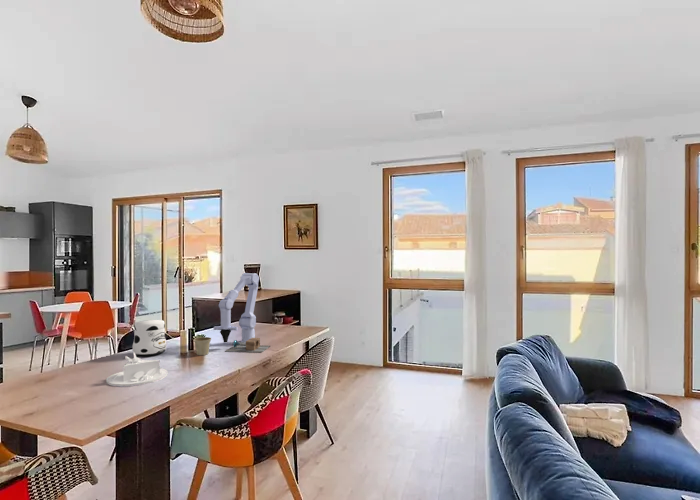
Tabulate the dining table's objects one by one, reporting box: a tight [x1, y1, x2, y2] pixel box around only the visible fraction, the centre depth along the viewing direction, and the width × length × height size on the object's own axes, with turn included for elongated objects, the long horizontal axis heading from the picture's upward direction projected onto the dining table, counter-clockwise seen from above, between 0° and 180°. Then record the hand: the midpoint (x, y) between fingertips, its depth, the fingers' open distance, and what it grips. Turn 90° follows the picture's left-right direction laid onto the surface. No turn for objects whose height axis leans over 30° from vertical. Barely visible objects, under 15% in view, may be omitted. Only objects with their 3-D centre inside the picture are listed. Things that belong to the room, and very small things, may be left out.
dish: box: [106, 351, 169, 388], centre depth 187 cm, size 25×25×11 cm
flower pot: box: [193, 336, 212, 356], centre depth 230 cm, size 9×9×9 cm
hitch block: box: [224, 337, 271, 354], centre depth 242 cm, size 16×22×6 cm
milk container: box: [132, 319, 168, 357], centre depth 230 cm, size 17×17×18 cm
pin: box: [232, 339, 246, 347], centre depth 242 cm, size 4×12×4 cm, turn 83°
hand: (225, 342), depth 244 cm, fingers closed
